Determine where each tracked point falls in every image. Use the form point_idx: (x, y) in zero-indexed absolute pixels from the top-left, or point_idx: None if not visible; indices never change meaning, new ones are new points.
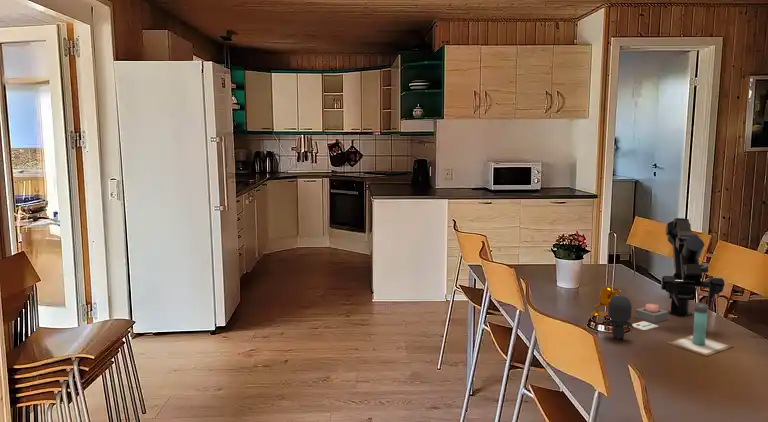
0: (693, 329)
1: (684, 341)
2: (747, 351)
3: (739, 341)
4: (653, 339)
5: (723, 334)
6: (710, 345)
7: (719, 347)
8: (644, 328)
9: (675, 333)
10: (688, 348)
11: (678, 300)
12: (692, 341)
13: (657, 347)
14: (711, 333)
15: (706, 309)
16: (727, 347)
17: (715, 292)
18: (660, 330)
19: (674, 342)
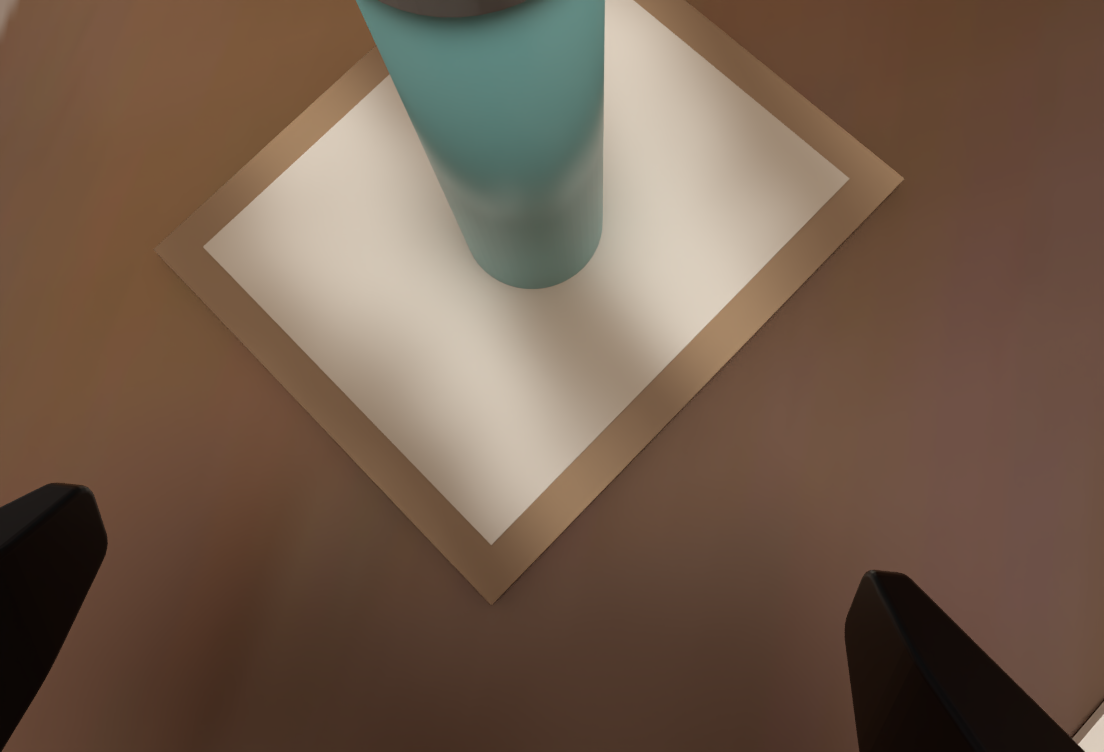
0: (603, 132)
1: (687, 253)
2: (61, 169)
3: (2, 494)
4: (1048, 293)
5: (90, 742)
6: (412, 193)
7: (330, 155)
8: None
9: (729, 621)
10: (686, 39)
11: (932, 658)
12: (602, 217)
13: (1020, 31)
14: (236, 748)
15: None
16: (238, 189)
17: None
18: None
19: (815, 186)
